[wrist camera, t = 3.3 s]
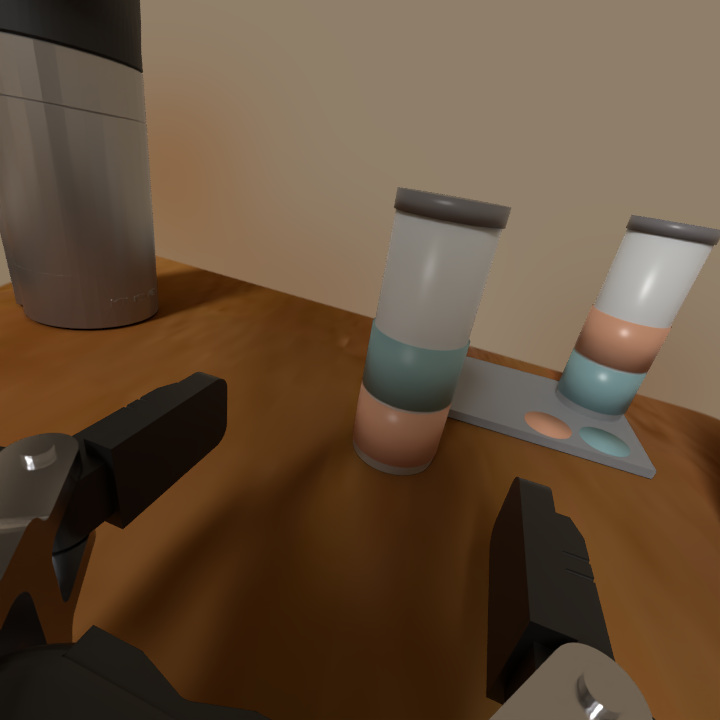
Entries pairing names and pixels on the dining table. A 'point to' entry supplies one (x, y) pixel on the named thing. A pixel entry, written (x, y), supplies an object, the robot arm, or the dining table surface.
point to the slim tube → (423, 325)
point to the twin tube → (633, 315)
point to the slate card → (542, 417)
